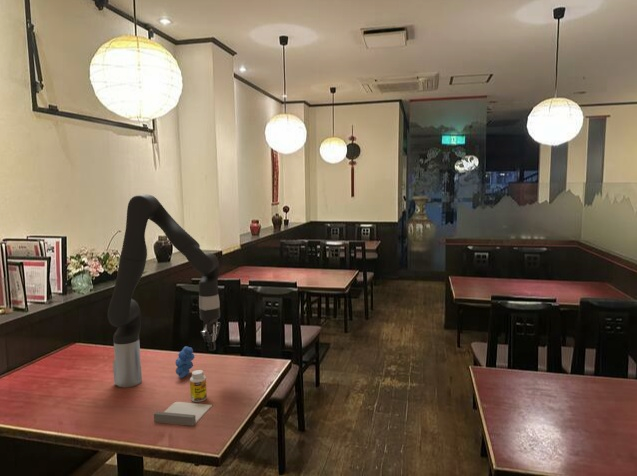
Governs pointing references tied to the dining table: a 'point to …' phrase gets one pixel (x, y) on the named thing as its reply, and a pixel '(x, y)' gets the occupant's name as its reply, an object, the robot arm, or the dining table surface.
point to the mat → (182, 413)
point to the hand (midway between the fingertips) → (212, 350)
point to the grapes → (184, 361)
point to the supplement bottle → (198, 386)
